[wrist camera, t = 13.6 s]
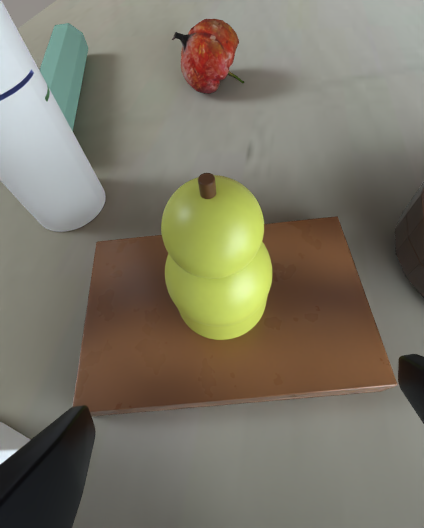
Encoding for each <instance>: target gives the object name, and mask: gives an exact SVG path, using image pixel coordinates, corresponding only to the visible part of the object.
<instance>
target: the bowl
mask: <svg viewBox="0 0 424 528" xmlns="http://www.w3.org/2000/svg"><path fill="white" fill-rule="evenodd" d="M395 250H396V255H397V258H398V260H399V262H400V264H401V267H402V269H403V271H404V273H405V276H406V277H407V279H408V280H409V281H410V282H411V283H412V285H413V286H414V287H415V288H416V289H417V290H418V292H419V293H420V294H421V295H422V296H423V298H424V182H423V184H422V185H421V186H420V188H419V189H418V191H417V192H416V194H415V195H414V196H413V198H412V199H411V201H410V202H409V203H408V205H407V206H406V208H405V209H404V211H403V212H402V214H401V216H400V219H399V221H398V223H397V226H396V228H395Z"/></svg>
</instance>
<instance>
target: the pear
mask: <svg viewBox="0 0 424 528" xmlns="http://www.w3.org/2000/svg"><path fill="white" fill-rule="evenodd" d="M161 232H162V238H163V242H164V245H165V248H166V250H167V252H168V256H167V260H166V264H165V282H166V286H167V289H168V293H169V295H170V297H171V299H172V301H173V302H174V304H175V305H176V307H177V308H178V310H179V312H180V315H181V317H182V319H183V320H184V322H185V323H186V324H187V325H188V327H189V328H191V329H192V330H193V331H194V332H196V333H197V334H199V335H201V336H203V337H206V338H209V339H215V340H227V339H232V338H236V337H239V336H241V335H243V334H245V333H247V332H248V331H250V330H251V329H252V328H253V327H254V326H255V325H256V324H257V323H258V322H259V320H260V318H261V317H262V315H263V312H264V310H265V306H266V301H267V296H268V293H269V290H270V287H271V283H272V264H271V259H270V256H269V253H268V251H267V249H266V247H265V245H264V243H263V242H262V240H263V235H264V219H263V214H262V211H261V208H260V206H259V204H258V202H257V200H256V198H255V197H254V196H253V195H252V193H251V192H250V191H249V190H248V189H247V188H246V187H244V186H243V185H242V184H240V183H239V182H237V181H235V180H233V179H230V178H227V177H224V176H216V175H213V174H211V173H204V174H201V175H200V176H199V177H198V178H195V179H193V180H190V181H189V182H187V183H185V184H184V185H182V186H181V187H180V188H179V189H177V190H176V191H175V193H174V194H173V195H172V196H171V198H170V199H169V201H168V203H167V205H166V207H165V209H164V212H163V217H162V222H161Z"/></svg>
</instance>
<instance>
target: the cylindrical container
mask: <svg viewBox="0 0 424 528" xmlns="http://www.w3.org/2000/svg"><path fill="white" fill-rule="evenodd" d="M0 181H1V182H2V183H3V184H4V185H5V186H6V187H7V188H8V189H9V190H10V192H11V193H12V194H13V195H14V196H15V197H16V198H17V199H18V200H19V201H20V202H21V204H22V205H23V206H24V207H25V208H26V209H27V210H28V211H29V212H30V213H31V214H32V215H33V217H34V218H35V219H36V220H37V221H38V222H39V223H40V224H41V225H42V226H43V227H44V228H46V229H48V230H51V231H57V232H64V231H71V230H74V229H77V228H80V227H82V226H84V225H86V224H87V223H89V222H90V221H92V220H93V219H94V218H95V217H96V216H97V215H98V214H99V213H100V211H101V210H102V208H103V206H104V203H105V198H106V196H105V191H104V189H103V187H102V185H101V183H100V181H99V179H98V178H97V176H96V174H95V172H94V170H93V168H92V166H91V165H90V163H89V161H88V159H87V157H86V155H85V154H84V152H83V150H82V148H81V146H80V144H79V142H78V141H77V139H76V137H75V135H74V133H73V131H72V130H71V128H70V126H69V124H68V122H67V120H66V118H65V117H64V115H63V113H62V111H61V109H60V107H59V106H58V104H57V102H56V100H55V98H54V96H53V94H52V93H51V91H50V89H49V87H48V86H47V83H46V82H45V80H44V78H43V76H42V74H41V72H40V70H39V69H38V67H37V65H36V63H35V61H34V59H33V58H32V56H31V54H30V52H29V50H28V48H27V46H26V45H25V43H24V41H23V39H22V37H21V35H20V34H19V32H18V30H17V28H16V26H15V24H14V22H13V21H12V19H11V17H10V15H9V13H8V12H7V9H6V8H5V6H4V4H3V2H2V0H0Z"/></svg>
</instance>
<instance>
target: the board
mask: <svg viewBox="0 0 424 528" xmlns="http://www.w3.org/2000/svg"><path fill="white" fill-rule="evenodd" d="M262 242H263V243H264V245H265V247H266V249H267V251H268V253H269V256H270V259H271V264H272V283H271V287H270V290H269V293H268V296H267V301H266V306H265V310H264V312H263V315H262V317H261V318H260V320H259V322H258V323H257V324H256V325H255V326H254V327H253V328H252V329H251V330H250V331H248V332H247V333H245V334H243V335H241V336H239V337H236V338H232V339H227V340H215V339H209V338H206V337H203V336H201V335H199V334H197V333H196V332H194V331H193V330H192V329H191V328H189V327H188V325H187V324H186V323H185V322H184V320H183V319H182V317H181V315H180V312H179V310H178V308H177V307H176V305H175V304H174V302H173V301H172V299H171V297H170V295H169V293H168V289H167V286H166V282H165V264H166V260H167V256H168V252H167V250H166V248H165V245H164V242H163V238H162V235H155V236H146V237H136V238H127V239H117V240H108V241H98V242H96V249H95V256H94V263H93V270H92V277H91V283H90V290H89V297H88V304H87V311H86V318H85V324H84V331H83V338H82V345H81V352H80V359H79V366H78V372H77V379H76V386H75V393H74V400H73V407H75V406H81V405H86V406H88V408H89V410H90V413H91V416H101V415H112V414H124V413H135V412H147V411H159V410H170V409H182V408H193V407H205V406H216V405H228V404H240V403H251V402H263V401H274V400H286V399H298V398H309V397H321V396H332V395H344V394H356V393H367V392H379V391H383V390H386V389H389V388H391V387H394V386H397V382H396V379H395V376H394V374H393V371H392V368H391V365H390V362H389V360H388V357H387V354H386V351H385V348H384V346H383V343H382V340H381V337H380V334H379V332H378V329H377V326H376V323H375V320H374V317H373V315H372V312H371V309H370V306H369V303H368V301H367V298H366V295H365V292H364V289H363V287H362V284H361V281H360V278H359V275H358V273H357V270H356V267H355V264H354V261H353V258H352V256H351V253H350V250H349V247H348V244H347V242H346V239H345V236H344V233H343V230H342V228H341V225H340V222H339V219H338V217H337V216H336V217H327V218H317V219H308V220H298V221H289V222H279V223H270V224H264V235H263V240H262Z"/></svg>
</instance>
